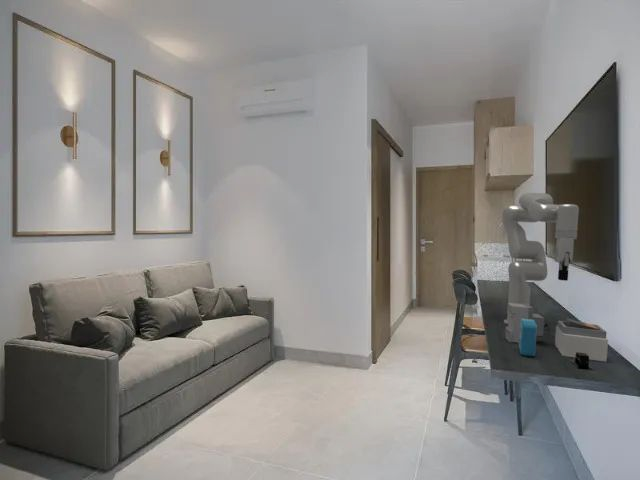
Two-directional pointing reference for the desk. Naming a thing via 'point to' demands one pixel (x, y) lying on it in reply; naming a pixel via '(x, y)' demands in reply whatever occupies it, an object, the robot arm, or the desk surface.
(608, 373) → the desk surface
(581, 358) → the black slotted block
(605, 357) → the switch panel
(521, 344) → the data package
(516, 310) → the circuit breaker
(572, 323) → the rocker
